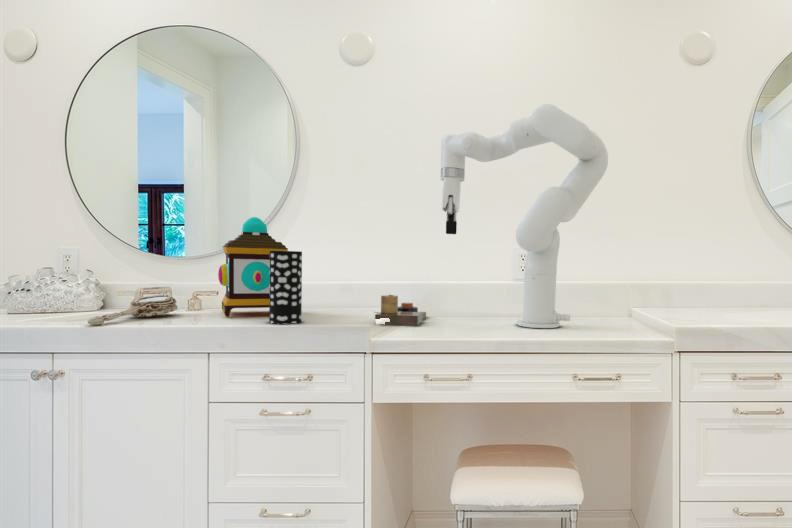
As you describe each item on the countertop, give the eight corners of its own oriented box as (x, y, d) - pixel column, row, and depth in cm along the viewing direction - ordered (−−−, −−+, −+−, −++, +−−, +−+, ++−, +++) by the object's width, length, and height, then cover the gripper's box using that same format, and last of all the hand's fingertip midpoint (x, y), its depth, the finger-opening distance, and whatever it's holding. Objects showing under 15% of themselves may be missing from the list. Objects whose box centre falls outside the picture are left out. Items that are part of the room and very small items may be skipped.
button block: (426, 317, 178) (426, 306, 178) (422, 320, 169) (422, 309, 169) (392, 316, 178) (392, 305, 177) (386, 319, 169) (386, 308, 168)
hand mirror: (65, 315, 135) (150, 294, 165) (72, 337, 136) (155, 313, 166) (105, 307, 134) (183, 288, 164) (112, 330, 135) (188, 307, 165)
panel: (422, 322, 165) (422, 311, 165) (417, 326, 155) (417, 315, 155) (377, 320, 165) (377, 310, 165) (369, 324, 155) (369, 313, 155)
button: (413, 308, 175) (413, 302, 175) (411, 309, 171) (411, 303, 171) (402, 307, 175) (402, 302, 175) (400, 308, 171) (400, 303, 171)
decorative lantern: (219, 318, 157) (219, 213, 155) (216, 311, 174) (216, 216, 172) (294, 316, 167) (294, 217, 165) (284, 309, 184) (284, 220, 182)
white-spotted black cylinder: (290, 319, 160) (290, 251, 159) (307, 322, 155) (308, 251, 154) (263, 322, 153) (263, 250, 152) (280, 325, 149) (280, 251, 147)
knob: (378, 312, 161) (379, 294, 160) (394, 311, 163) (395, 293, 163) (383, 313, 157) (384, 295, 156) (399, 313, 159) (400, 295, 159)
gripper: (443, 178, 181) (441, 234, 182) (438, 171, 166) (436, 232, 167) (465, 179, 181) (464, 235, 182) (463, 172, 166) (461, 233, 167)
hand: (451, 233), depth 175 cm, fingers closed
